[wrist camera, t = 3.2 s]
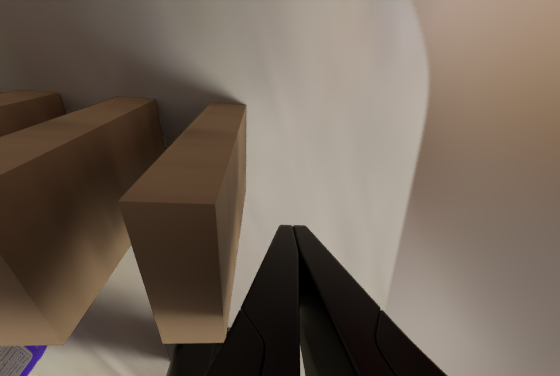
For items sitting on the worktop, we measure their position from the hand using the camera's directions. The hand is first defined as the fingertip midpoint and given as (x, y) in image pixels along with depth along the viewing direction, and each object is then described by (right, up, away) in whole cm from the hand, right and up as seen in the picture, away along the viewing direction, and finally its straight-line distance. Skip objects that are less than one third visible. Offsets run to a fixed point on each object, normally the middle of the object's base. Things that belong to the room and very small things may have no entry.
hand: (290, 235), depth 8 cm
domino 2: (-3, +4, +6) cm, 8 cm away
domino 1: (-8, +4, +5) cm, 10 cm away
